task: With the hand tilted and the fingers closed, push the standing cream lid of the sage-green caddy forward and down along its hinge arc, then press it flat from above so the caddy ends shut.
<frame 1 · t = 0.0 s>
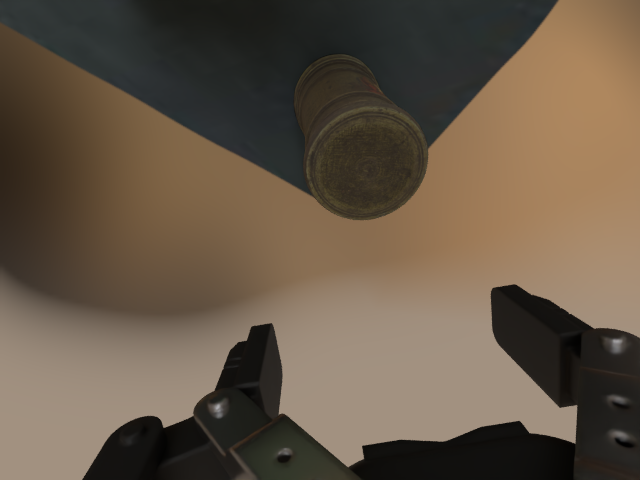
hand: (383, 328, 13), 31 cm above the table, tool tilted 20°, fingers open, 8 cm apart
container: (335, 99, 39), on the table
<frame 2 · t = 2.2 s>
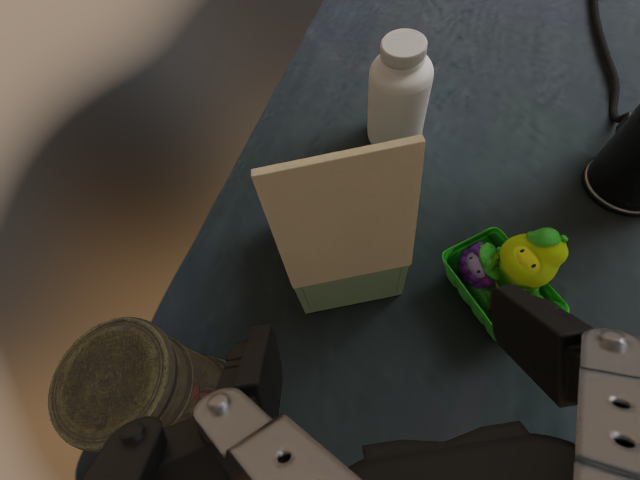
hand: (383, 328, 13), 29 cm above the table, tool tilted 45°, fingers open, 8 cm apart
container: (208, 401, 40), on the table
lid: (345, 225, 30), point 16 cm above the table, hinge at 80.0°
pill bottle: (394, 136, 55), on the table
fruit basket: (491, 295, 42), on the table
caddy: (342, 253, 47), on the table
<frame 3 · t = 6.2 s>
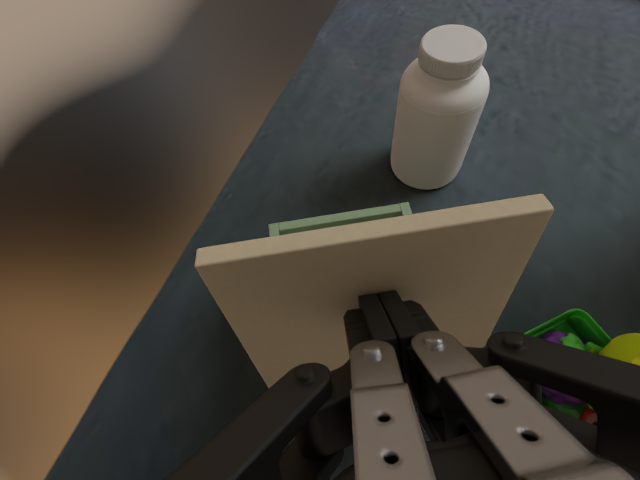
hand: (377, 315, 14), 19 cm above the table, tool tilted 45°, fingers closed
lid: (372, 332, 17), point 16 cm above the table, hinge at 79.0°, touching gripper
pill bottle: (424, 166, 43), on the table
fruit basket: (567, 404, 29), on the table
caddy: (354, 326, 34), on the table
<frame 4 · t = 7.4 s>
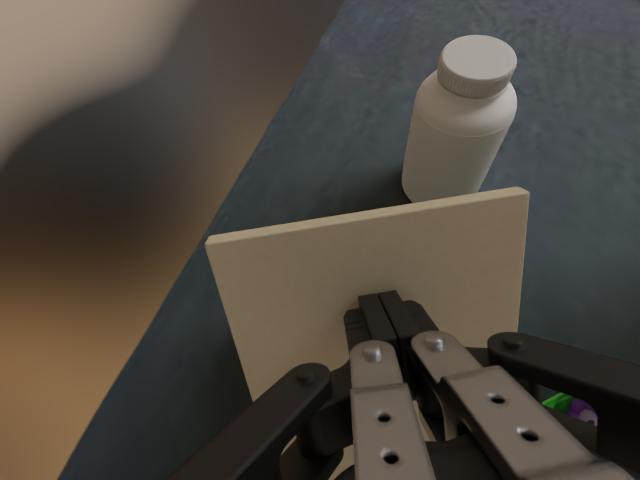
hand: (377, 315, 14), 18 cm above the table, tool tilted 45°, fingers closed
lid: (380, 366, 16), point 15 cm above the table, hinge at 54.5°, touching gripper
pill bottle: (438, 186, 39), on the table
fruit basket: (608, 468, 26), on the table
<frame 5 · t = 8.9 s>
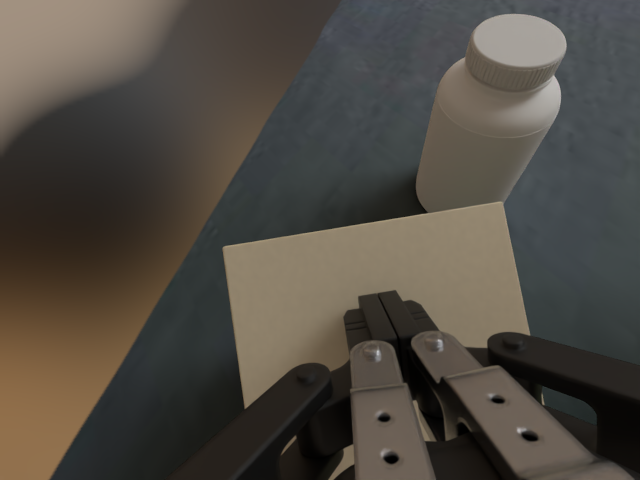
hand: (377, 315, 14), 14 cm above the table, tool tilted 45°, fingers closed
lid: (391, 400, 15), point 12 cm above the table, hinge at 25.8°, touching gripper
pill bottle: (457, 194, 35), on the table
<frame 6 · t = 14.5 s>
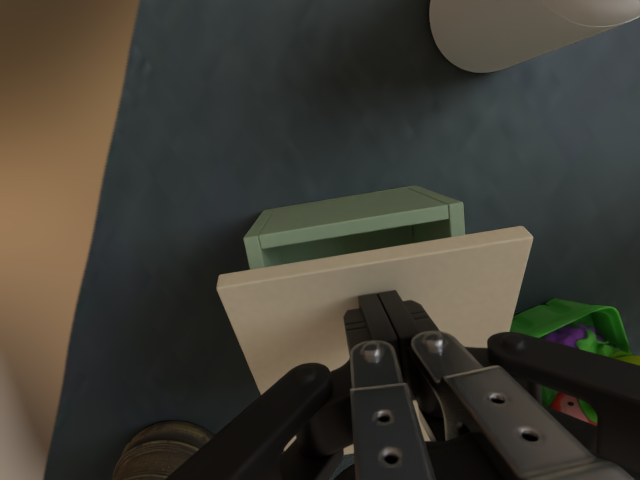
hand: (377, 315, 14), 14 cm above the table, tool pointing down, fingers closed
container: (178, 458, 33), on the table
lid: (379, 371, 18), point 12 cm above the table, hinge at 21.7°
pill bottle: (483, 13, 25), on the table
fruit basket: (546, 348, 31), on the table
caddy: (351, 281, 29), on the table
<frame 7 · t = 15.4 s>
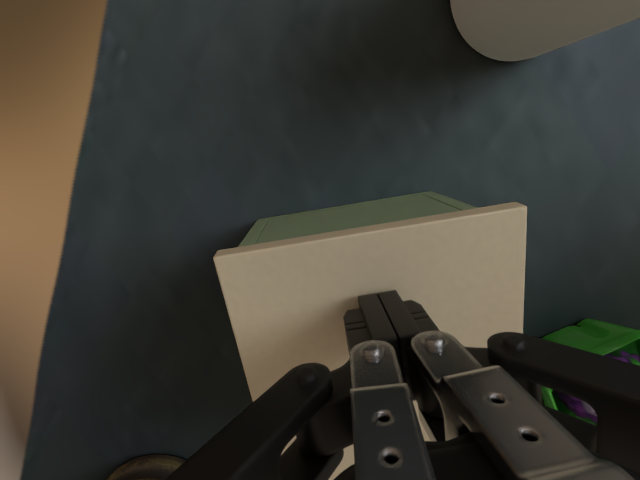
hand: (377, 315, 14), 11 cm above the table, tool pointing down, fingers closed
lid: (385, 383, 16), point 10 cm above the table, hinge at 5.2°, touching gripper
fruit basket: (576, 373, 28), on the table
caddy: (357, 299, 26), on the table
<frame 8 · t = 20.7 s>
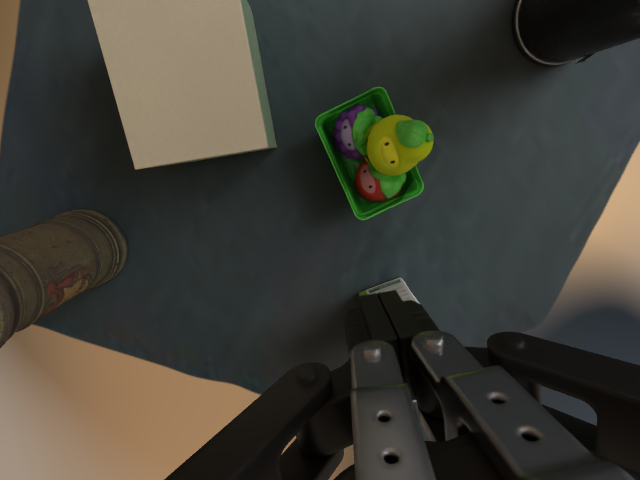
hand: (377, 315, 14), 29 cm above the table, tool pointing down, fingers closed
syrup box: (386, 303, 46), on the table
container: (90, 245, 43), on the table
lid: (181, 69, 30), point 9 cm above the table, hinge at 0.0°
fruit basket: (367, 152, 41), on the table
caddy: (211, 91, 39), on the table
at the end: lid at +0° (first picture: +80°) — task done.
